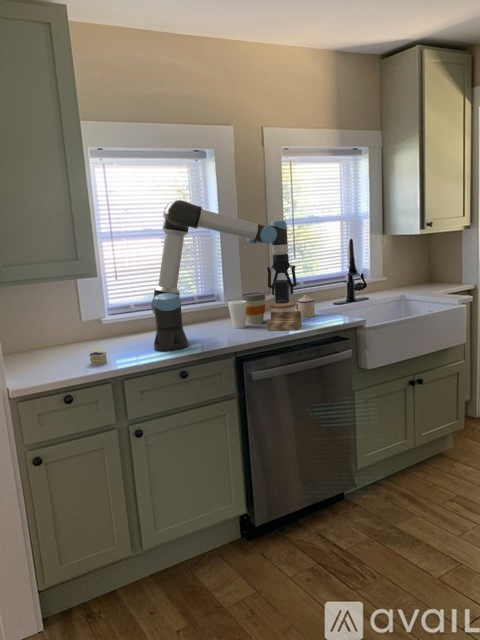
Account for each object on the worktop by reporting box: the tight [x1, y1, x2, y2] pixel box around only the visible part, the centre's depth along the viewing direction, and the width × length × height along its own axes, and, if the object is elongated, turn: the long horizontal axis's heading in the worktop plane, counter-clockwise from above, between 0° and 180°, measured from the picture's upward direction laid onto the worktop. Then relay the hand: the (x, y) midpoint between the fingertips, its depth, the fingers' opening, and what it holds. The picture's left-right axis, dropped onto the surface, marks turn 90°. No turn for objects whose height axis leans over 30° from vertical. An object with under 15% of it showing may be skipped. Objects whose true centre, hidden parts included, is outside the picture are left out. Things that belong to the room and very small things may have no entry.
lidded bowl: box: [270, 301, 296, 313], centre depth 283 cm, size 13×13×11 cm
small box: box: [274, 279, 290, 304], centre depth 262 cm, size 11×6×10 cm, turn 169°
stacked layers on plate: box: [88, 348, 108, 366], centre depth 220 cm, size 10×9×6 cm
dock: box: [266, 310, 302, 332], centre depth 265 cm, size 15×13×7 cm
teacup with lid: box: [295, 294, 316, 319], centre depth 293 cm, size 12×9×12 cm
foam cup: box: [227, 300, 247, 329], centre depth 274 cm, size 10×9×13 cm
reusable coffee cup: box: [241, 292, 266, 325], centre depth 285 cm, size 13×13×15 cm
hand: (283, 301), depth 262 cm, fingers closed on small box, 6 cm apart
